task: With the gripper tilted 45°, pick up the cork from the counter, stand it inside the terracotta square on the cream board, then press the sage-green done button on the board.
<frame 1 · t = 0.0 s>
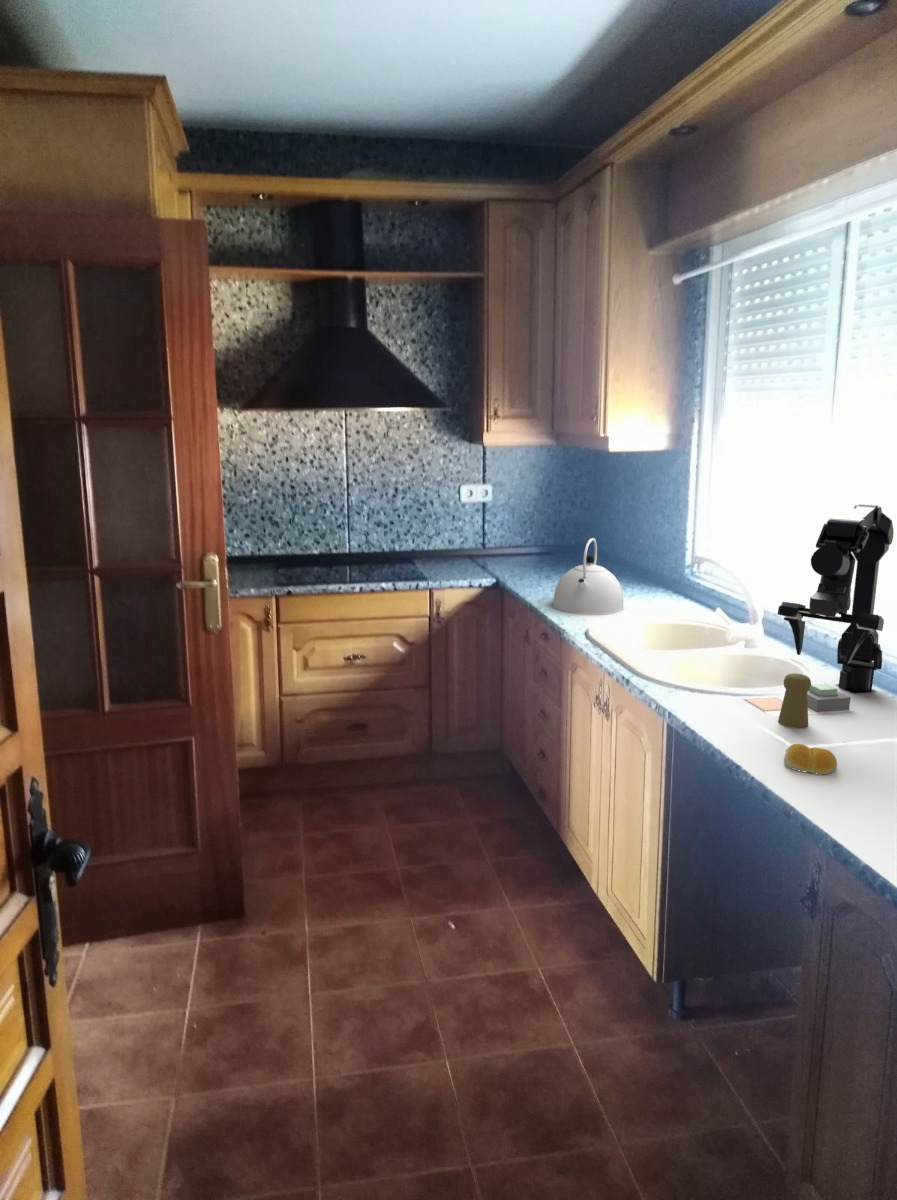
hand: (822, 659, 174), 15 cm above the counter, tool pointing down, fingers open, 9 cm apart
cork: (792, 726, 181), on the counter
bread roll: (808, 768, 161), on the counter
done button: (822, 691, 191), point 4 cm above the counter, slide at 0.0 cm
picture board: (796, 707, 192), on the counter
kettle: (587, 608, 285), on the counter
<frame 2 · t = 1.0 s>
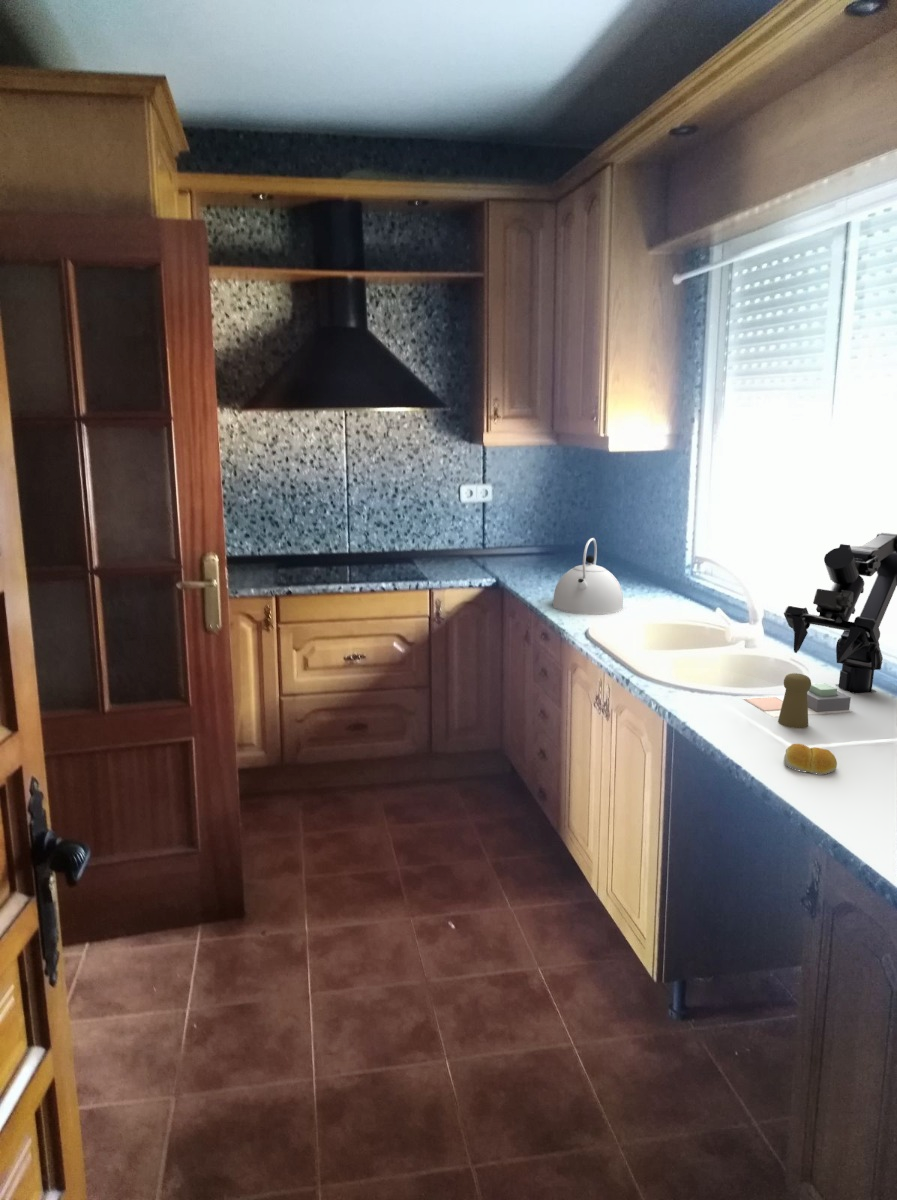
hand: (816, 656, 183), 13 cm above the counter, tool tilted 45°, fingers open, 9 cm apart
nothing on the counter moved.
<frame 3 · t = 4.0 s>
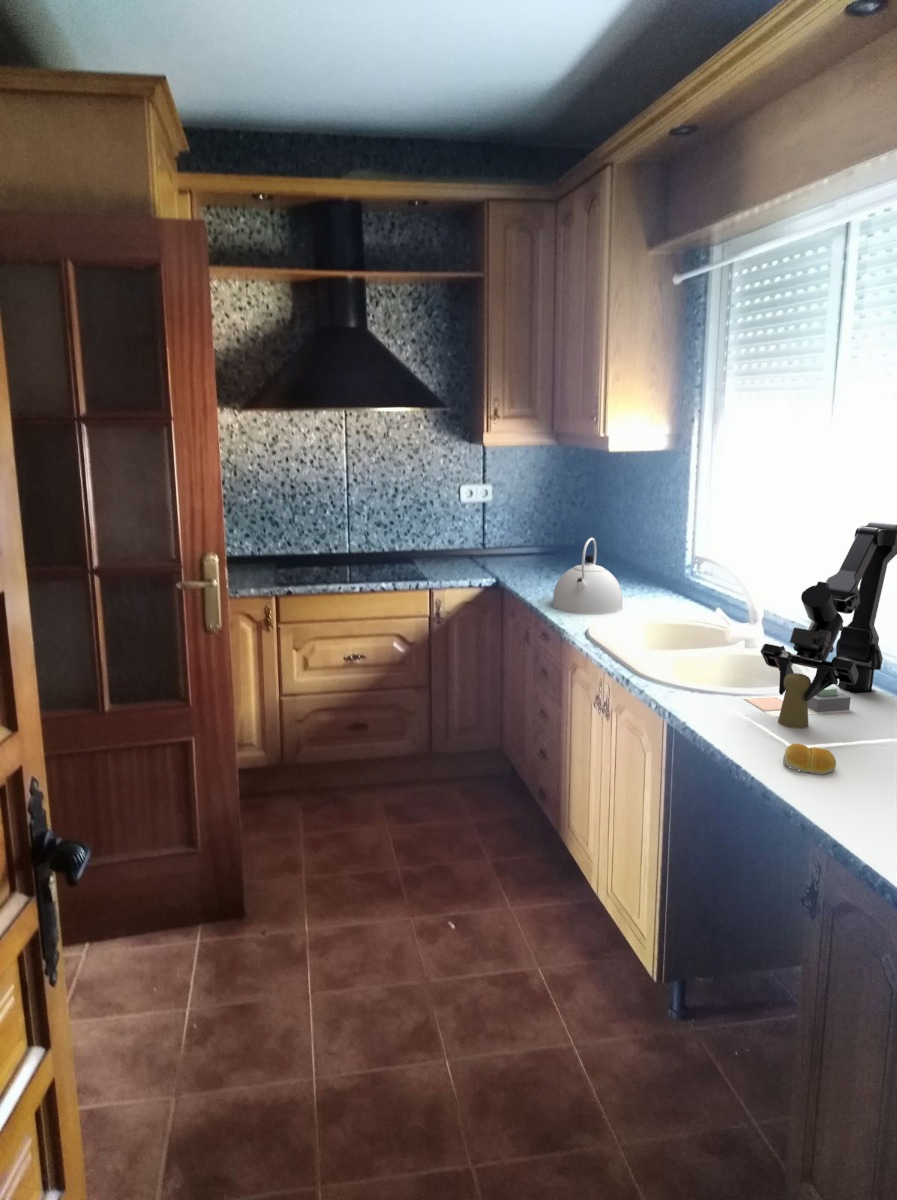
hand: (793, 696, 178), 7 cm above the counter, tool tilted 45°, fingers closed on cork, 5 cm apart
cork: (792, 726, 181), on the counter, touching gripper
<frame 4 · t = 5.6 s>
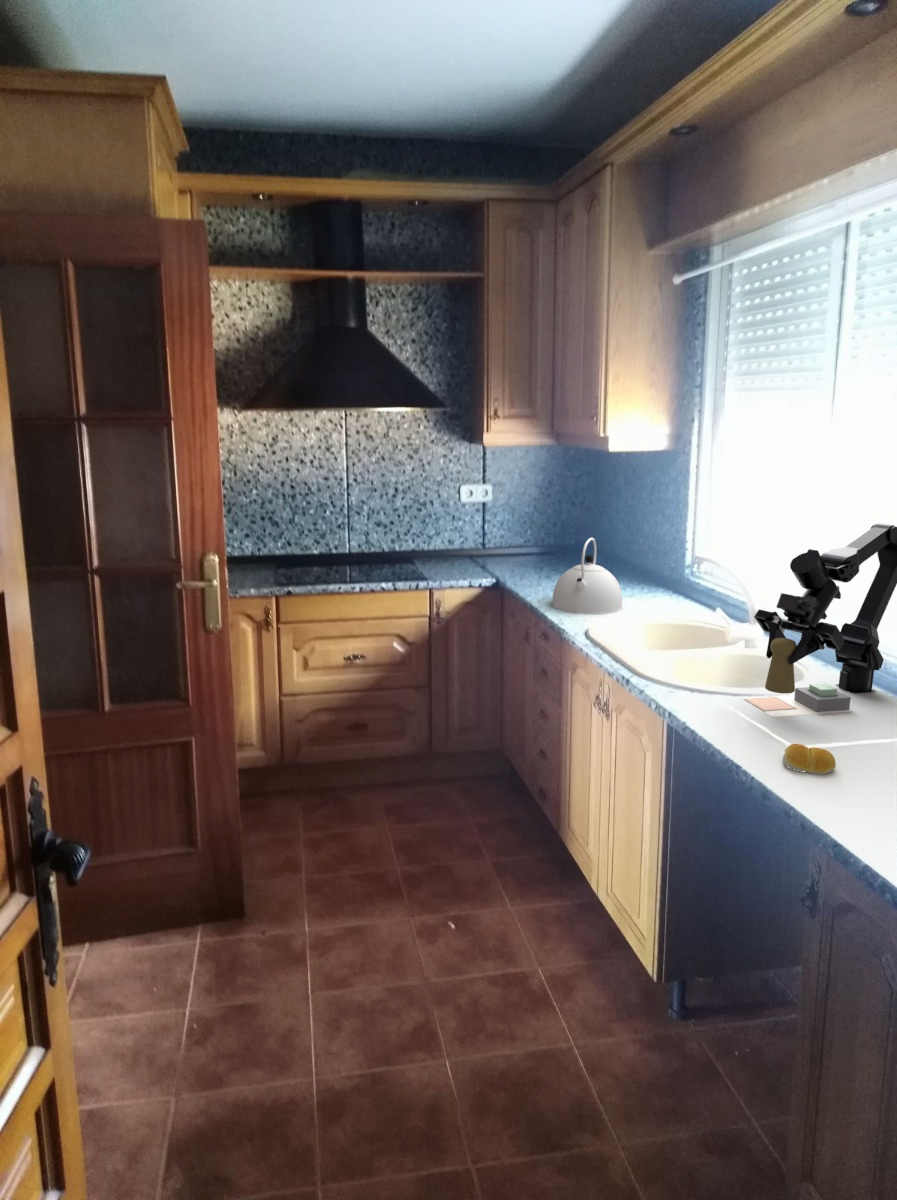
hand: (778, 660, 185), 12 cm above the counter, tool tilted 45°, fingers closed on cork, 5 cm apart
cork: (779, 689, 187), point 5 cm above the counter, touching gripper
when the fingers open (8 cm above the counter, at t = 7.3 s): cork stays where it is, resting on picture board.
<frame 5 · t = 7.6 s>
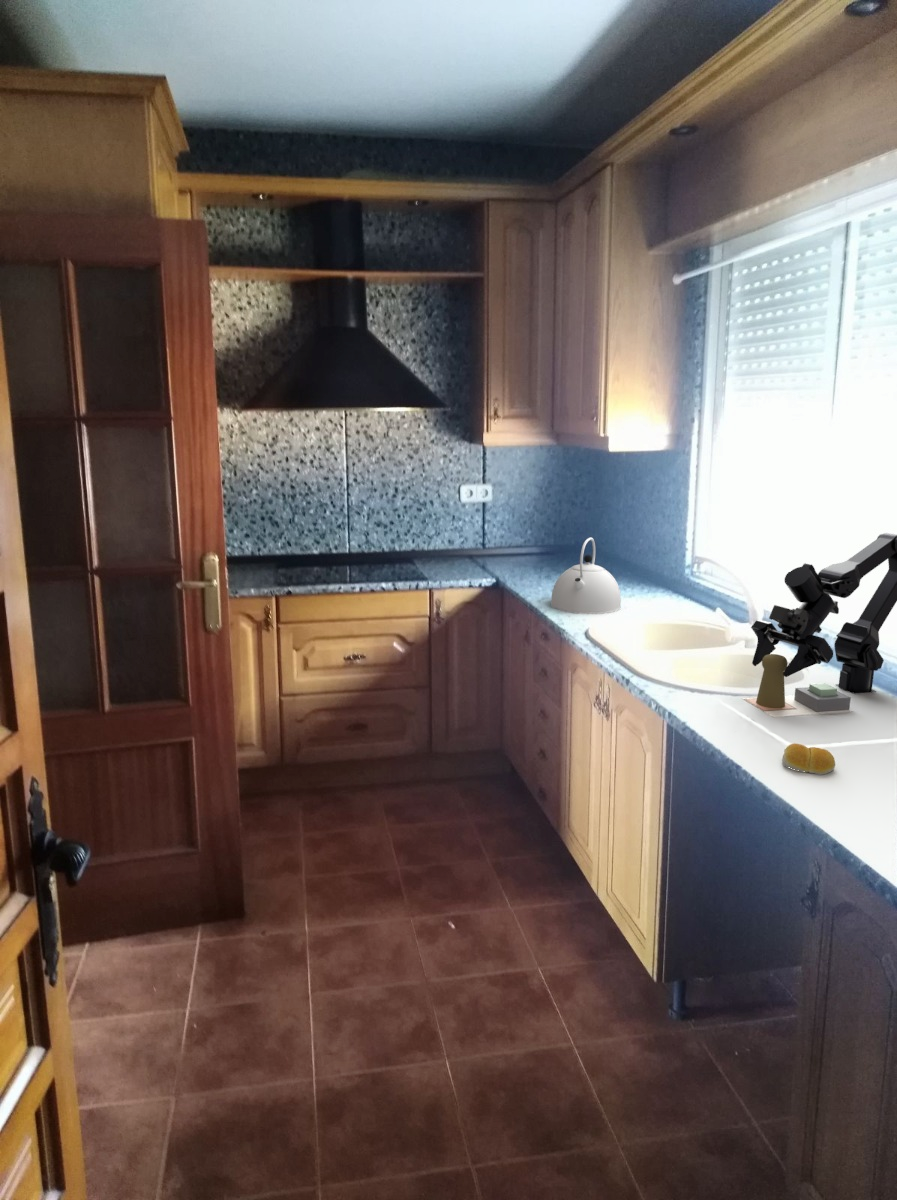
hand: (768, 670, 190), 9 cm above the counter, tool tilted 45°, fingers open, 8 cm apart
cork: (770, 704, 192), point 1 cm above the counter, touching picture board
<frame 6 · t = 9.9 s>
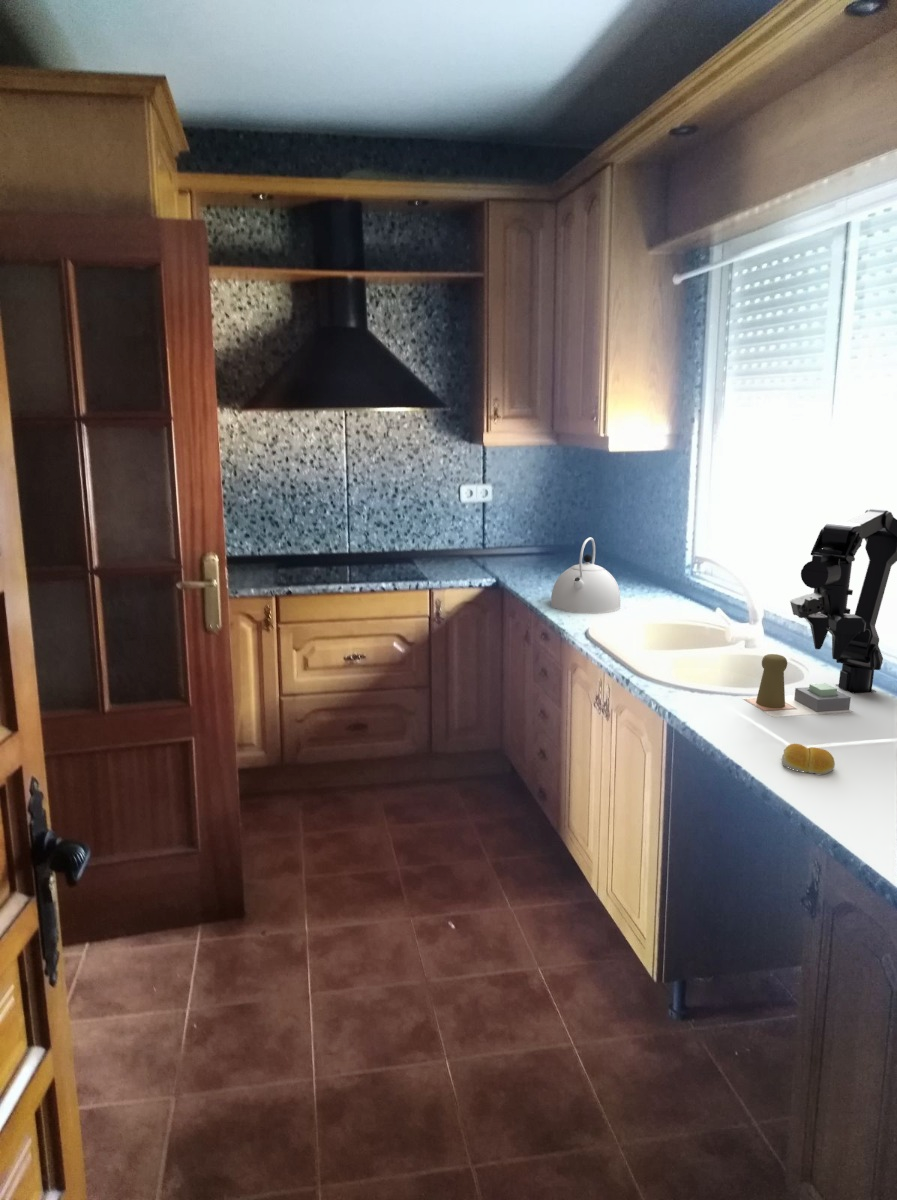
hand: (826, 654, 190), 12 cm above the counter, tool pointing down, fingers open, 8 cm apart
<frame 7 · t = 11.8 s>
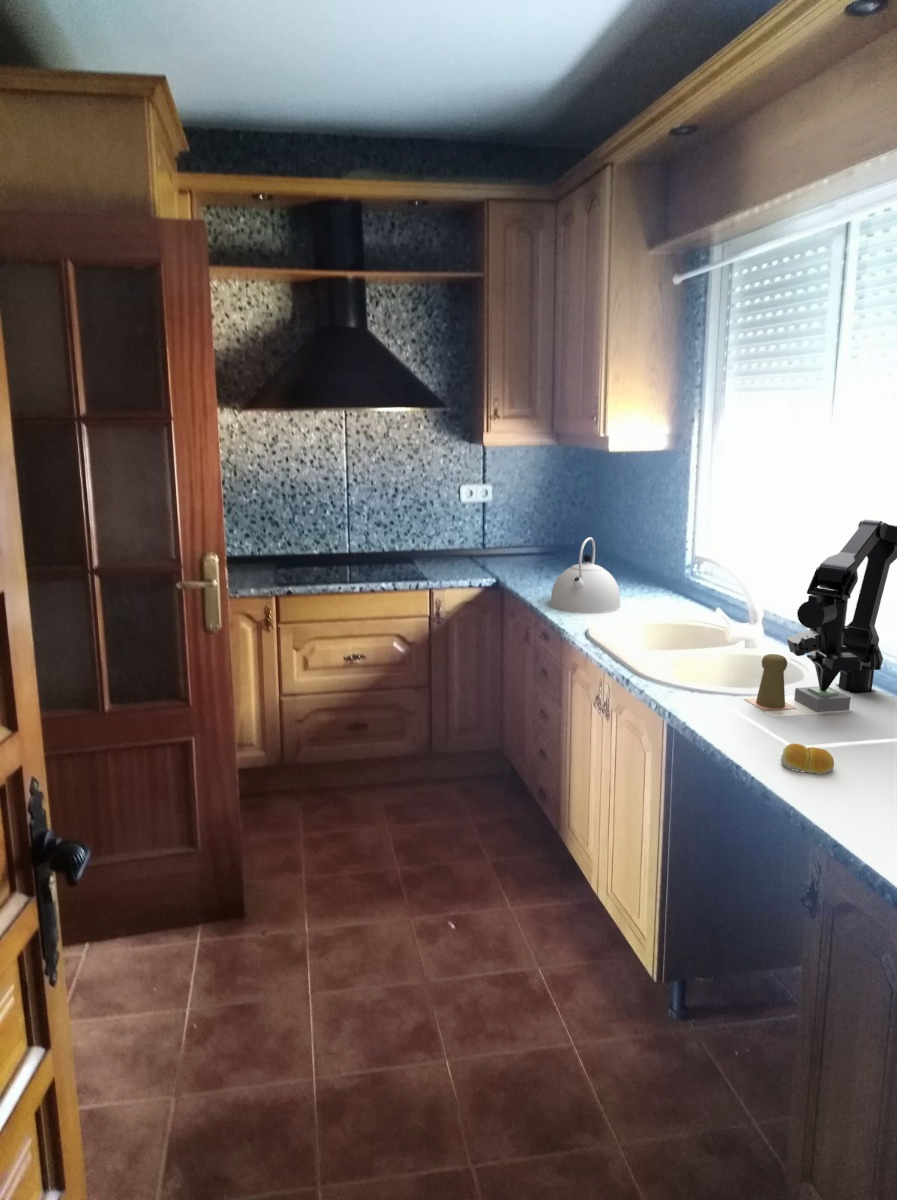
hand: (823, 690, 191), 4 cm above the counter, tool pointing down, fingers closed, pressing on done button
done button: (822, 695, 192), point 3 cm above the counter, slide at 0.9 cm, touching gripper
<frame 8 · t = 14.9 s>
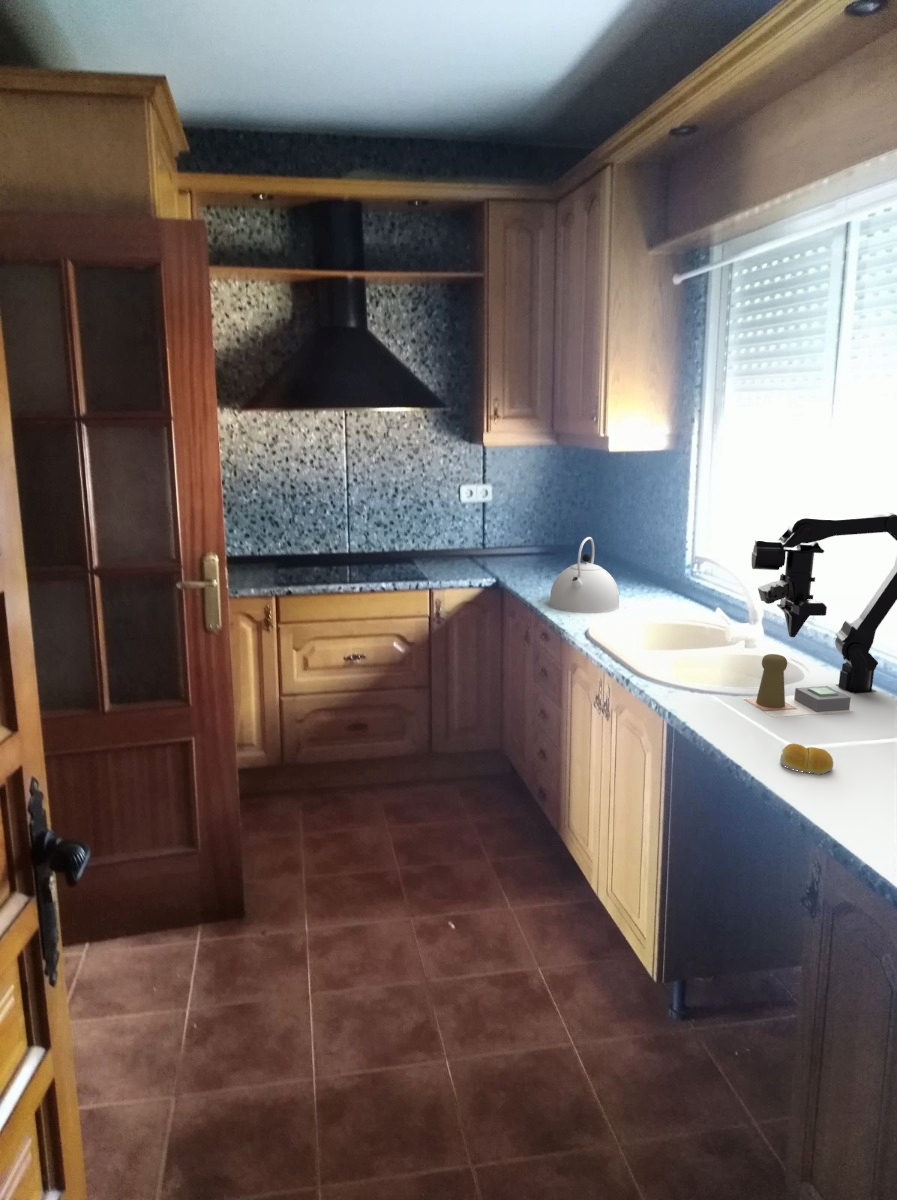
hand: (792, 636, 204), 12 cm above the counter, tool pointing down, fingers closed
done button: (822, 695, 192), point 3 cm above the counter, slide at 1.0 cm
at the end: cork 0.1 cm from the target spot, point 0.5 cm above the counter; cork tilted 0°; done button slide at 1.0 cm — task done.
